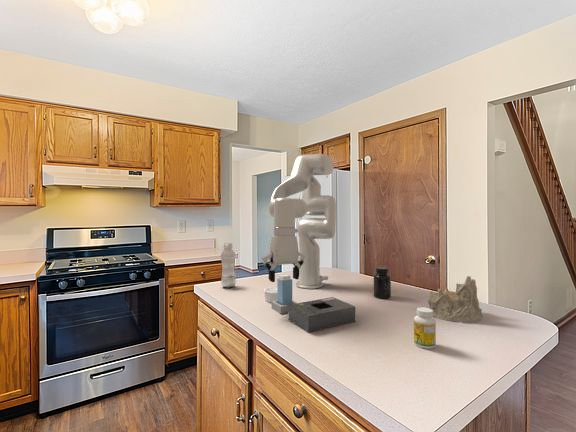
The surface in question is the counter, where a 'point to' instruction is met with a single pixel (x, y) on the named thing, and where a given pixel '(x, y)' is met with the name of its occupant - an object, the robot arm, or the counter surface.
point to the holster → (281, 307)
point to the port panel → (321, 314)
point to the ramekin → (270, 294)
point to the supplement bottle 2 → (424, 328)
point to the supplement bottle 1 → (382, 283)
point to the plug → (284, 290)
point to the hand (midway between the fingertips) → (284, 280)
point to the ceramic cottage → (457, 303)
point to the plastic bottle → (228, 266)
